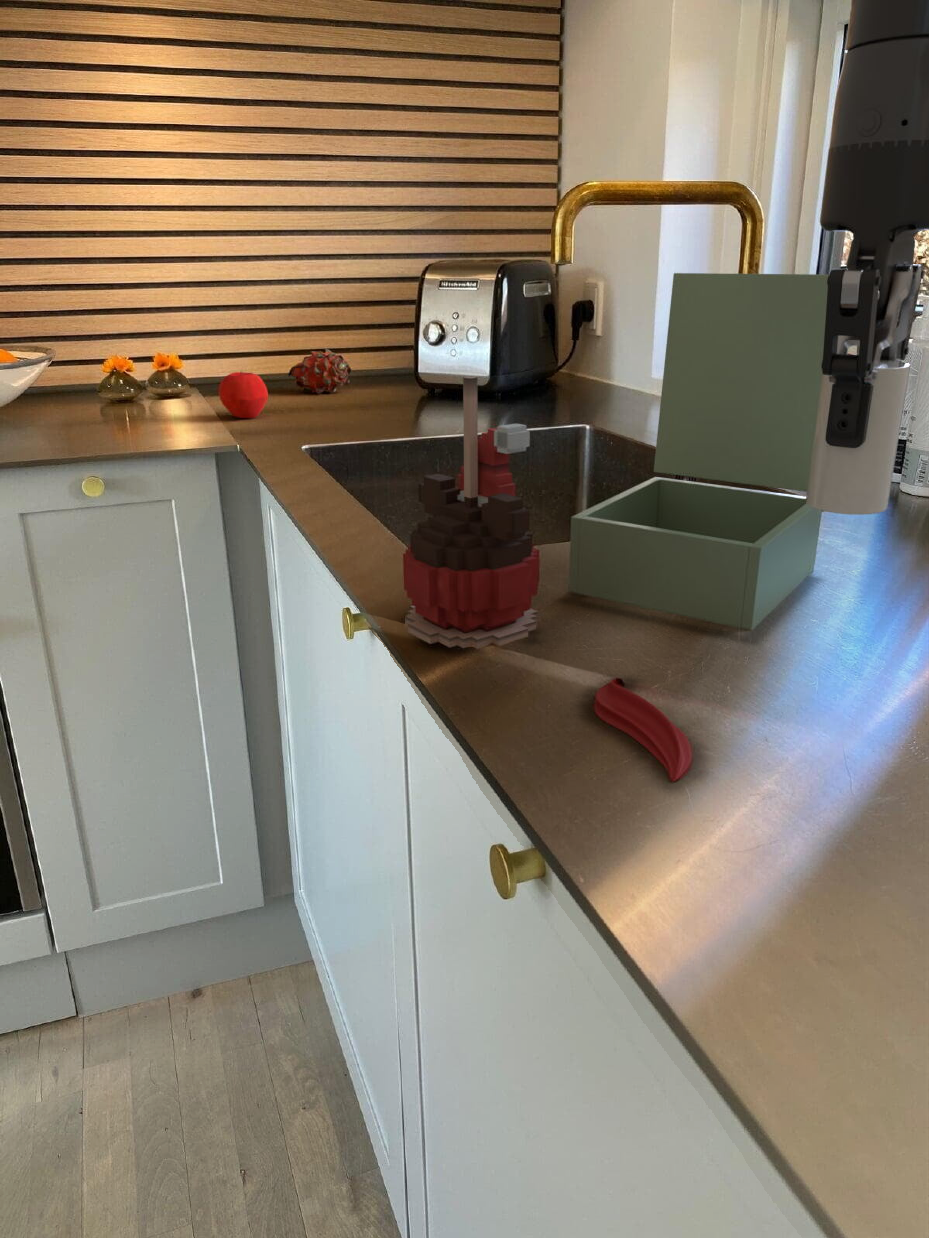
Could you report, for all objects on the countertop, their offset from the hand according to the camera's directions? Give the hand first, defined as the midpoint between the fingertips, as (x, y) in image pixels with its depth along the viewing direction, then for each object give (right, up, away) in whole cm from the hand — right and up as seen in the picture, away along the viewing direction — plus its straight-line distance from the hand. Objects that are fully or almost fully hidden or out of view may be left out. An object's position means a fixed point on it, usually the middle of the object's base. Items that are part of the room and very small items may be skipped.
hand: (855, 437), depth 60 cm
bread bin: (-6, -9, +16) cm, 20 cm away
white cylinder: (0, -4, +2) cm, 4 cm away
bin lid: (-2, +8, +17) cm, 19 cm away
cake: (-24, -13, +9) cm, 29 cm away
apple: (-61, +21, +94) cm, 114 cm away
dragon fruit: (-52, +31, +119) cm, 133 cm away
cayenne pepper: (-15, -18, -5) cm, 24 cm away
